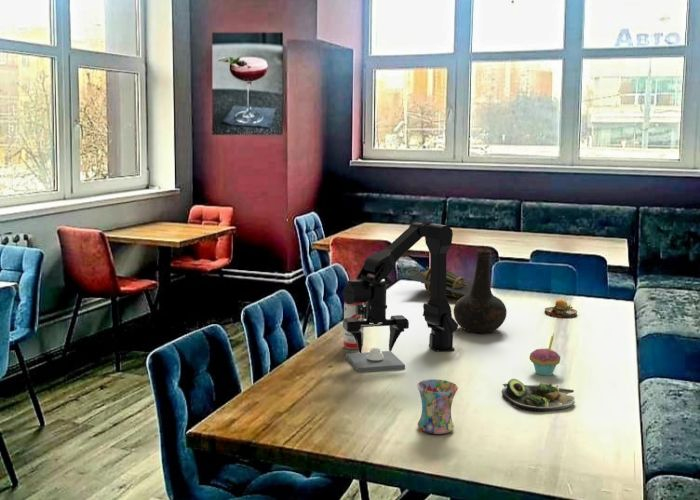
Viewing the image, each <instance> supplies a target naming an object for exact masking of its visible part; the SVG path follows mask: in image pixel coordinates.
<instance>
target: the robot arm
mask: <svg viewBox="0 0 700 500" xmlns="http://www.w3.org/2000/svg"><path fill="white" fill-rule="evenodd" d="M453 233H454V232H453V229H452V228H451V227H450V226H449V225H446V224H445V225H444V224H438V223H435V222H434V223H429V224H425V223H422V222H412V223H410V225H409V226H408V228H406V229H405V231H403V232H402V233H401V234H400V235H399V236H398V237H397V238H396V239H395V240H393V242H391V243H390V244H389V245H388V246H387V247H385V248H384V249H383V250H380V251H377V252H374V253H373V254H371V255H370V256H368V257H367V258H366V259H365V260H364V262H363V266H362V267H361V270H360V271H359V272H358V274H357V277H356V279H351V280H347V284H346V285H345V286H344V288H343V290H342V298H343V301H344V303H345V302H346V303H347V304H349V305H350V304H356V309H355V311H356V315H362V318H364V321H359V320H358V319H357V318H345V319H344V318H343V320H342V328H343V330H344V329H345V330H346V331H347V332H350V333H351V334H353V336H354V338H355V340H356V344H357V347H358V349H357V350H358V353H362V349H363V348H362V347H363V346H362V332H361V331H360V329H361V327H364V328H370V327H388V326H389V338H388V351H391V352H392V351H393V348H394V346H395V344H396V341H397V340H398V338H399V336H400V335H401V333H403V332H405V330H406V329H409V326H410V322H409V320H408V319H407V318H406V317H405V316H404V315H403V314H402V315H398V314H397V315H391V316H390V319H389V318H388V319H387V317H386V315H387V309H388V305H387V285H392V284H393V281H392V280H391V279H390V278H389V276H390V274H391V273H392V271H393V270H394V269H395V267H396V263H397V262H398V261H399V259H400V258H401V257H403V255H405V253H407V252H408V251H409V250H410V249H411V248H412V247H413V246H414V245H416V244H417V242H419V241H420V240H421V239H422V238H424V240H425V245H426V247H427V249H428V251H429V253H430V255H429V256H430V260H429V261H430V262H429V263H430V265H429V266H430V293H429V299H428V301H427V303H424V302H423V304H422V305H423V306H422V307H423V313H422V316H423V317H424V321H425V322H426V325H427V328H429V329H431V330H430V333H429V336H428V337H429V339H428V340H429V341H428V347H429V348H431V349H432V350H433V351H435V352H445V351H447V352H448V351H455V347H453V346H454V345H453V340H454V333H455V332H457V331H458V327H459V324H458V323H457V322H456V320H455V318H453V316H452V308H451V306H450V303H449V301H448V299H447V295H446V270H447V258H448V257H447V256H448V255H447V253H448V251H449V250H450V248H451V247H452V243H453V236H454V234H453ZM363 302H364V307H363V304H357V303H363Z"/></svg>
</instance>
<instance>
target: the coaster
mask: <svg viewBox="0 0 700 500" xmlns="http://www.w3.org/2000/svg"><path fill="white" fill-rule="evenodd" d="M381 352H382V354H383V356H384V359H382V360H380V361H372V360H369V359H367V355H368V353H369V351H366V352H364V351H363V352H361V353H360V352H352V353H351V352H350V353H346V354H345V358H346V359H347V361H349V363H350V364H351V365H352V366H353V367H354V369H355V370H356V371H357V372H358V373H362V372H363V373H364V372H375V371H376V372H377V371H378V372H379V371H392V370H394V371H395V370H405V369H406V364H405V363H404V362H402V360H401V359H399V358H398V356H397V355H395V354H394V353H393V352H392V350H391V351H389V350H385V351H384V350H382V351H381Z"/></svg>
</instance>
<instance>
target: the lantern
mask: <svg viewBox="0 0 700 500" xmlns="http://www.w3.org/2000/svg"><path fill="white" fill-rule="evenodd" d="M426 269H427V270H422V271H421V268H416V267H412V268H408V269H407V270H406V271H405V273H406V275H408V277H410V276H411V278H410V279H411V280H413V281H417V282H420V284H424V288H425V290H426V291H424V294H425V293H429V294H430V268H429V267H428V266H426ZM415 270H416V272H415V273H409V272H408V271H415ZM420 271H421V272H420ZM466 280H467V278H464V277H462V276H459V275H457V274H455V273H453V272H452V271H449V270H448V269H446V296H451V297H453V298H458V299H460V295H462V296H465V295H467V294H468V293H469V292H470V291H471V288H472V286H473V283H470V282H465V281H466Z"/></svg>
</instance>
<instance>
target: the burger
mask: <svg viewBox="0 0 700 500" xmlns="http://www.w3.org/2000/svg"><path fill="white" fill-rule="evenodd" d="M544 314H545V315H546V316H552V317H554V318H560V319H570V318H576V317H577V316H578V310H576V309H574V307H573V306H571V304H568V302H567V301H566V300H564V299H562V298H561V299H557V300H556V301H555V303H554V306H549V307H545V308H544Z"/></svg>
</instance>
